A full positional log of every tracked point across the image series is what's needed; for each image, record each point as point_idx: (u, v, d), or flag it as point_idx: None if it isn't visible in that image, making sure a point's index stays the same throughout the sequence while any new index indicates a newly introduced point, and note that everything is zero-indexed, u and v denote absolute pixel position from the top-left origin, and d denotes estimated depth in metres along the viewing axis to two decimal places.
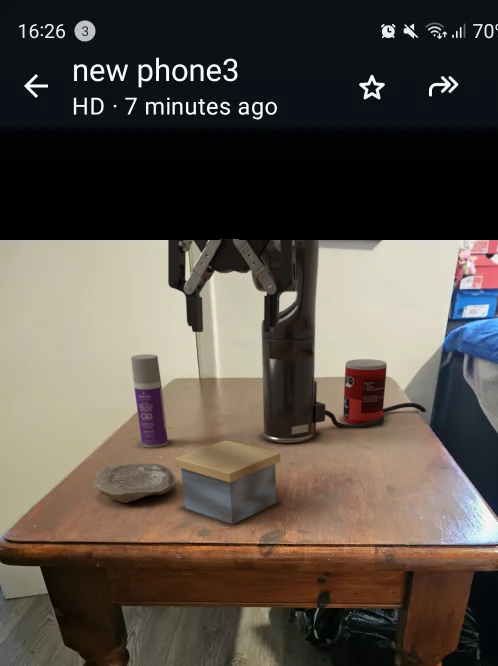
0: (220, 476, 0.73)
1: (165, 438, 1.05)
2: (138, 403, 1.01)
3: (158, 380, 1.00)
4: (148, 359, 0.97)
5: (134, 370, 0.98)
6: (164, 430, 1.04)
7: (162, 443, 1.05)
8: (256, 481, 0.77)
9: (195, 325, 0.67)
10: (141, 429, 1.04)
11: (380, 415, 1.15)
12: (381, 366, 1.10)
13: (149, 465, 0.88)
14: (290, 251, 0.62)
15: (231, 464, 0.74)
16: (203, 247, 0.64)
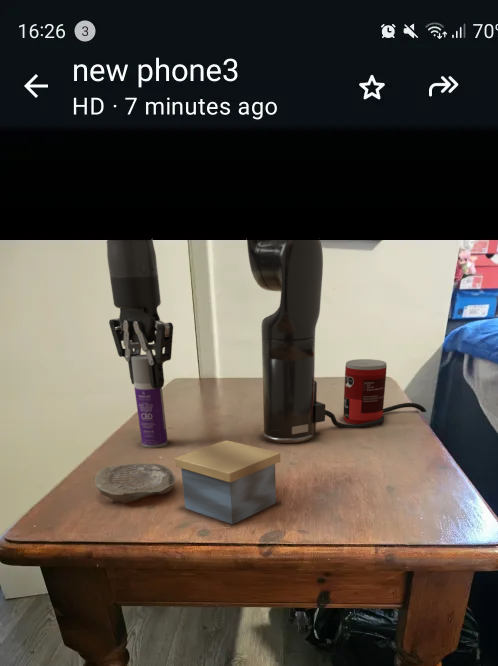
0: (220, 476, 0.73)
1: (165, 438, 1.05)
2: (138, 403, 1.01)
3: None
4: None
5: (134, 370, 0.98)
6: (164, 430, 1.04)
7: (162, 443, 1.05)
8: (256, 481, 0.77)
9: (133, 381, 1.01)
10: (141, 429, 1.04)
11: (380, 415, 1.15)
12: (381, 366, 1.10)
13: (149, 465, 0.88)
14: (160, 341, 0.93)
15: (231, 464, 0.74)
16: None
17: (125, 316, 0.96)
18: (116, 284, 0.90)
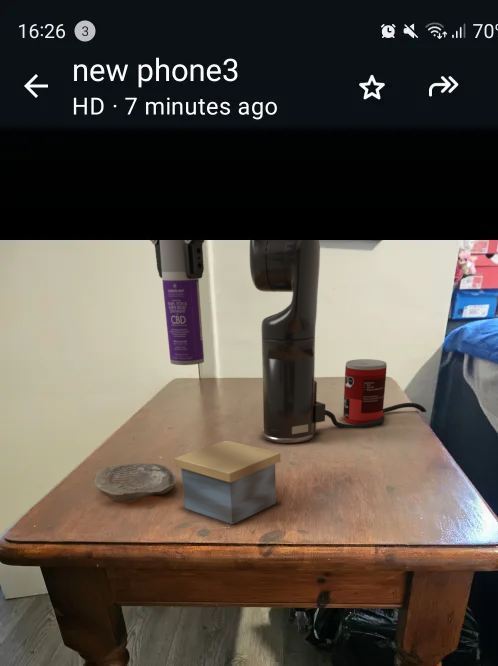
0: (220, 476, 0.73)
1: (201, 353, 0.80)
2: (167, 301, 0.76)
3: None
4: None
5: (163, 253, 0.73)
6: (200, 342, 0.79)
7: (197, 359, 0.79)
8: (256, 481, 0.77)
9: (161, 272, 0.76)
10: (170, 339, 0.78)
11: (380, 415, 1.15)
12: (381, 366, 1.10)
13: (149, 465, 0.88)
14: None
15: (231, 464, 0.74)
16: None
17: None
18: None
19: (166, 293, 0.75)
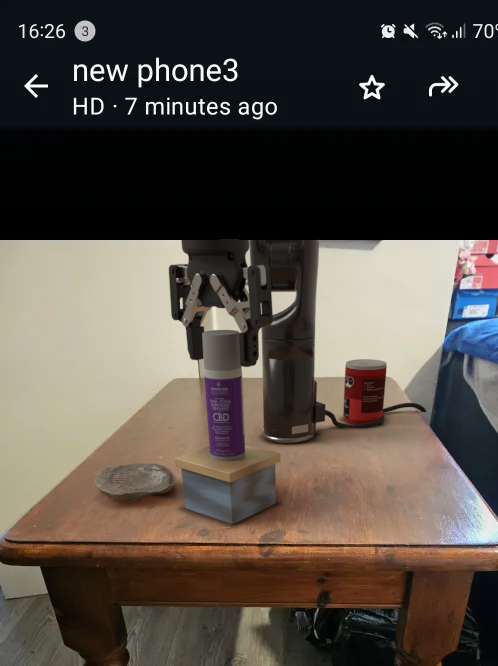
0: (220, 476, 0.73)
1: (243, 447, 0.76)
2: (209, 399, 0.72)
3: (239, 366, 0.71)
4: (228, 335, 0.68)
5: (207, 352, 0.69)
6: (242, 436, 0.75)
7: (239, 454, 0.76)
8: (256, 481, 0.77)
9: (192, 354, 0.72)
10: (211, 435, 0.75)
11: (380, 415, 1.15)
12: (381, 366, 1.10)
13: (149, 465, 0.88)
14: (256, 292, 0.62)
15: (231, 464, 0.74)
16: None
17: (196, 268, 0.66)
18: None
19: (208, 390, 0.71)
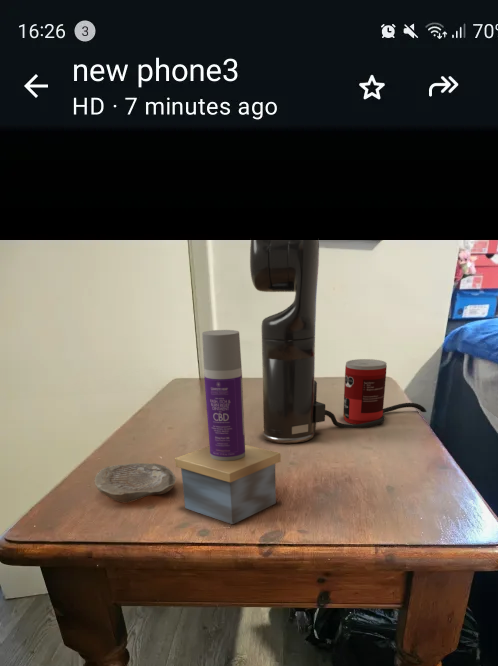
0: (220, 476, 0.73)
1: (243, 447, 0.76)
2: (209, 399, 0.72)
3: (239, 366, 0.71)
4: (228, 335, 0.68)
5: (207, 352, 0.69)
6: (242, 436, 0.75)
7: (239, 454, 0.76)
8: (256, 481, 0.77)
9: None
10: (211, 435, 0.75)
11: (380, 415, 1.15)
12: (381, 366, 1.10)
13: (149, 465, 0.88)
14: None
15: (231, 464, 0.74)
16: None
17: None
18: None
19: (208, 390, 0.71)
